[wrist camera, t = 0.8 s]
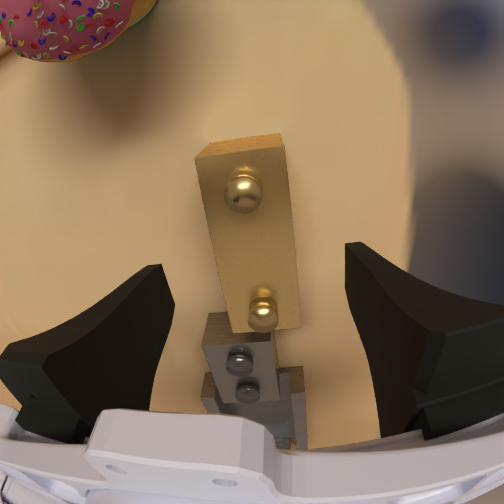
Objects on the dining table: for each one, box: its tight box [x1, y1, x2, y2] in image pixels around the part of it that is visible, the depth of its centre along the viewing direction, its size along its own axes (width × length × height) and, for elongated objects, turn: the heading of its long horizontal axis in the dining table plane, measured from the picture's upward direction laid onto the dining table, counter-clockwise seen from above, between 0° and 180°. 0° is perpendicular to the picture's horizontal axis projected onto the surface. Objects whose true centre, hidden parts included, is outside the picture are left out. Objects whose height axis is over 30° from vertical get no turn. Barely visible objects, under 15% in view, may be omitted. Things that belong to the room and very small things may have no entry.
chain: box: [201, 312, 307, 450], centre depth 24 cm, size 23×8×4 cm, turn 9°
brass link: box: [194, 133, 301, 333], centre depth 15 cm, size 9×4×5 cm, turn 8°
